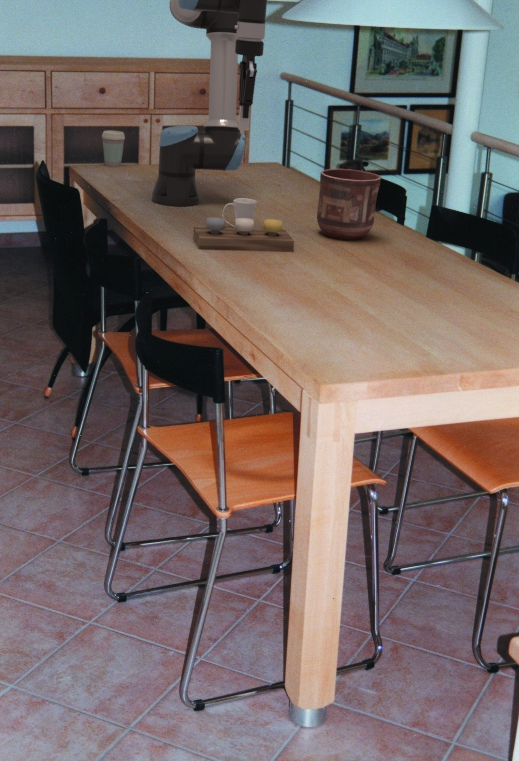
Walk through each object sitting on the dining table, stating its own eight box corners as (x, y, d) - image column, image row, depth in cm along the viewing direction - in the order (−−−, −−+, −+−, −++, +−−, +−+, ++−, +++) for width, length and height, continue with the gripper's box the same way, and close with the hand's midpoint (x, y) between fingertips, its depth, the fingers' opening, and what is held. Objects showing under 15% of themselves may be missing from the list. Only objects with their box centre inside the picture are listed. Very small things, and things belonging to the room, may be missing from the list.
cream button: (232, 236, 272) (234, 217, 270) (250, 236, 273) (251, 218, 271) (235, 240, 268) (237, 222, 266) (253, 241, 269) (255, 222, 267)
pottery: (375, 245, 282) (382, 182, 275) (314, 239, 282) (320, 176, 276) (372, 231, 298) (379, 171, 292) (314, 225, 299) (320, 166, 292)
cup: (256, 231, 286) (259, 203, 283) (223, 229, 285) (224, 202, 282) (253, 225, 293) (255, 198, 290) (220, 223, 291) (221, 196, 288)
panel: (193, 237, 274) (194, 226, 273) (284, 240, 279) (285, 229, 278) (199, 249, 263) (199, 238, 262) (293, 251, 268) (294, 240, 267)
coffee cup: (128, 167, 360) (129, 134, 356) (106, 167, 356) (106, 134, 352) (119, 162, 367) (119, 130, 362) (97, 163, 363) (98, 130, 358)
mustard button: (261, 236, 274) (262, 218, 272) (278, 237, 275) (280, 219, 273) (264, 241, 270) (266, 223, 268) (282, 242, 271) (283, 223, 269)
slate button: (204, 235, 271) (205, 216, 269) (222, 235, 272) (223, 217, 270) (206, 240, 266) (208, 221, 264) (225, 240, 267) (226, 221, 265)
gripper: (232, 36, 266) (226, 125, 275) (240, 40, 254) (234, 133, 263) (259, 38, 268) (252, 126, 277) (268, 42, 256) (261, 134, 265)
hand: (243, 129), depth 270 cm, fingers closed
